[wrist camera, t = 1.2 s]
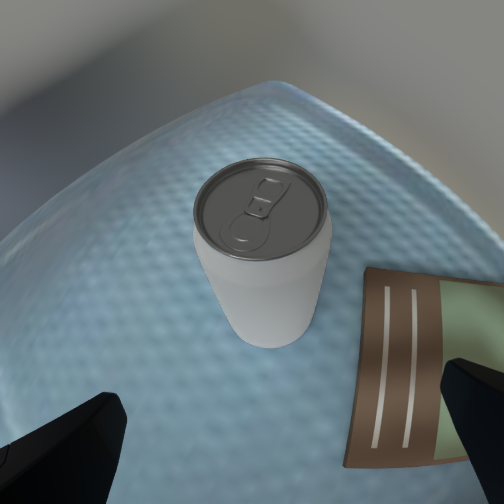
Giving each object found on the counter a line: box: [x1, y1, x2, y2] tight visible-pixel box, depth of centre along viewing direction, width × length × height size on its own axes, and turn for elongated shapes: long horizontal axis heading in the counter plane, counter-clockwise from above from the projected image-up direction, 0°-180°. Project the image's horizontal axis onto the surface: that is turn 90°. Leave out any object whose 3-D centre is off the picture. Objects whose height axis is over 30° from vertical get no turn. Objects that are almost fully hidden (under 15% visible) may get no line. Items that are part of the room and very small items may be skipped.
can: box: [193, 158, 332, 348], centre depth 18 cm, size 6×6×12 cm
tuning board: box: [343, 267, 504, 468], centre depth 18 cm, size 15×17×1 cm
